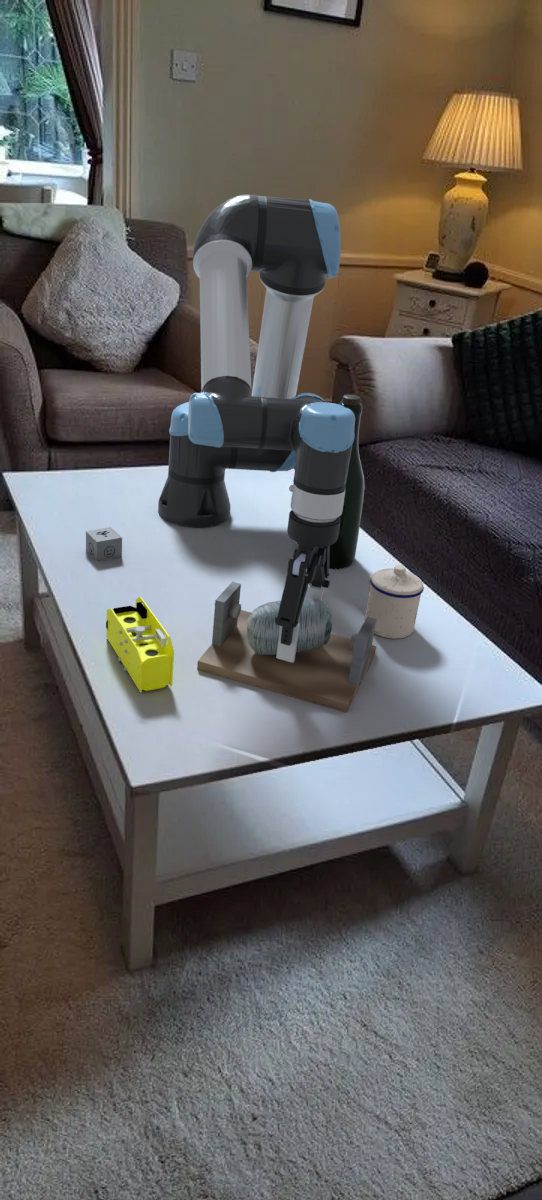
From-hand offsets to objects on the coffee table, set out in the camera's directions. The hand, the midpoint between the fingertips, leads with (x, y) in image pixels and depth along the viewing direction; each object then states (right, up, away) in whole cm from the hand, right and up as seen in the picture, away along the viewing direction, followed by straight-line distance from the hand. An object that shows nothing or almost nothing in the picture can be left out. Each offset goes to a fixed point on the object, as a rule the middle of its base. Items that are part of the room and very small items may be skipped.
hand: (298, 640), depth 135 cm
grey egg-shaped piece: (0, -2, +2) cm, 3 cm away
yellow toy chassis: (-25, -4, -3) cm, 25 cm away
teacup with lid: (+16, +2, +16) cm, 23 cm away
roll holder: (-1, -3, +2) cm, 4 cm away
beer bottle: (+7, +14, +36) cm, 40 cm away
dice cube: (-36, +14, +27) cm, 47 cm away
